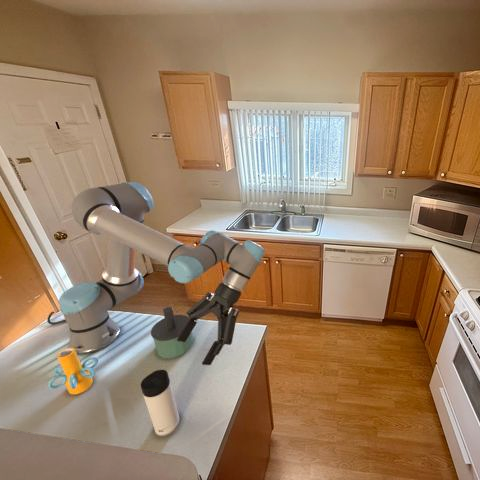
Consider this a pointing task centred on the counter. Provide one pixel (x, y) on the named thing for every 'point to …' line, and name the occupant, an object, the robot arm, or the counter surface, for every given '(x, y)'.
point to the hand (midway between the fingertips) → (192, 352)
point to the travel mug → (160, 402)
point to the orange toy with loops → (73, 372)
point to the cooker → (173, 347)
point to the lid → (169, 326)
